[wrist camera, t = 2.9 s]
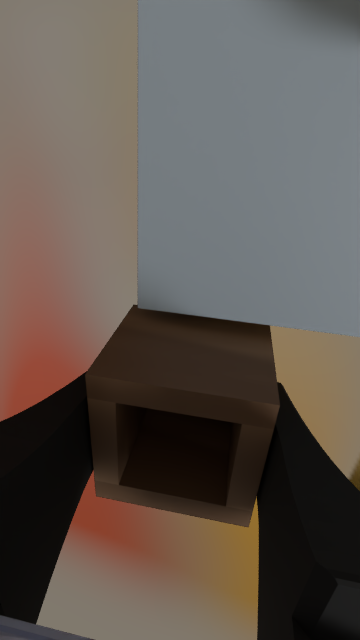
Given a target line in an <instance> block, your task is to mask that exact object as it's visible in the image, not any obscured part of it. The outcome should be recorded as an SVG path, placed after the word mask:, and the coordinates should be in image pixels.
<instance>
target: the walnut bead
mask: <svg viewBox="0 0 360 640" xmlns="http://www.w3.org/2000/svg"><path fill="white" fill-rule="evenodd" d="M85 378H86V389H87V401H88V412H89V423H90V434H91V445H92V457H93V468H94V479H95V489H96V496H98V497H102V498H107V499H113V500H117V501H122V502H127V503H132V504H137V505H142V506H146V507H152V508H156V509H161V510H166V511H171V512H176V513H181V514H186V515H190V516H195V517H200V518H205V519H210V520H215V521H220V522H225V523H229V524H234V525H239V526H244V527H249V523H250V520H251V516H252V511H253V508H254V504H255V500H256V496H257V492H258V489H259V485H260V481H261V477H262V473H263V469H264V465H265V461H266V458H267V454H268V450H269V446H270V442H271V438H272V434H273V430H274V427H275V423H276V419H277V415H278V411H279V407H280V402H279V394H278V386H277V379H276V371H275V363H274V355H273V348H272V340H271V332H270V325H264V324H256V323H249V322H241V321H233V320H226V319H218V318H211V317H203V316H195V315H188V314H180V313H172V312H165V311H157V310H150V309H142V308H138V305H133V307H132V308H131V309H130V311H129V312H128V314H127V315H126V317H125V318H124V319H123V321H122V322H121V324H120V325H119V327H118V328H117V330H116V331H115V332H114V334H113V335H112V337H111V338H110V340H109V341H108V342H107V344H106V345H105V347H104V348H103V349H102V351H101V353H100V354H99V355H98V357H97V358H96V360H95V361H94V362H93V364H92V365H91V367H90V368H89V370H88V371H87V372H86V374H85Z"/></svg>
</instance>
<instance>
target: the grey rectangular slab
mask: <svg viewBox="0 0 360 640" xmlns="http://www.w3.org/2000/svg"><path fill="white" fill-rule="evenodd" d="M138 308H142V309H150V310H157V311H165V312H172V313H180V314H188V315H195V316H203V317H211V318H218V319H226V320H233V321H241V322H249V323H256V324H264V325H271V326H279V327H287V328H294V329H303V330H310V331H317V332H325V333H332V334H340V335H349V336H356V337H360V0H138Z"/></svg>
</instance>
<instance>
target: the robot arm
mask: <svg viewBox="0 0 360 640" xmlns="http://www.w3.org/2000/svg"><path fill="white" fill-rule="evenodd" d="M86 372H87V371H86ZM86 372H85V373H84V374H82V375H81V376H80V377H78V378H77V379H75V380H74V381H72V382H71V383H69V384H68V385H66V386H65V387H63V388H62V389H60V390H59V391H57V392H55V393H54V394H52V395H51V396H49V397H48V398H46V399H44V400H42V401H41V402H39V403H37V404H35V405H34V406H32V407H30V408H28V409H26V410H24V411H22V412H20V413H18V414H16V415H14V416H12V417H10V418H8V419H5V420H3V421H1V422H0V640H94V639H90V638H86V637H82V636H78V635H74V634H71V633H67V632H63V631H59V630H55V629H51V628H48V627H44V626H40V625H36V622H37V619H38V616H39V613H40V610H41V607H42V604H43V601H44V598H45V594H46V592H47V589H48V586H49V583H50V579H51V577H52V574H53V571H54V568H55V565H56V562H57V560H58V557H59V554H60V551H61V548H62V545H63V543H64V540H65V537H66V535H67V532H68V529H69V527H70V524H71V521H72V518H73V516H74V513H75V511H76V508H77V506H78V503H79V501H80V498H81V495H82V493H83V490H84V488H85V486H86V484H87V482H88V480H89V478H90V476H91V474H92V472H93V470H94V468H93V457H92V445H91V434H90V423H89V412H88V401H87V389H86V378H85V374H86ZM277 386H278V394H279V402H280V407H279V411H278V415H277V419H276V423H275V427H274V430H273V434H272V438H271V442H270V446H269V450H268V454H267V458H266V461H265V465H264V469H263V473H262V477H261V481H260V485H259V489H258V492H257V505H258V518H259V585H258V586H259V587H258V632H257V633H258V634H257V640H360V491H359V490H358V489H357V488H356V487H355V486H354V485H353V484H352V483H351V482H350V481H349V480H348V479H347V478H346V476H345V475H344V474H343V473H342V472H341V471H340V470H339V468H338V467H337V466H336V465H335V464H334V463H333V461H332V460H331V459H330V458H329V456H328V455H327V454H326V452H325V451H324V450H323V449H322V447H321V446H320V444H319V443H318V442H317V440H316V439H315V438H314V436H313V435H312V434H311V432H310V430H309V429H308V427H307V426H306V425H305V423H304V421H303V420H302V418H301V417H300V415H299V413H298V412H297V410H296V408H295V407H294V405H293V403H292V402H291V400H290V398H289V396H288V394H287V393H286V391H285V389H284V387H283V385H282V384H281V383H279V382H277Z"/></svg>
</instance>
